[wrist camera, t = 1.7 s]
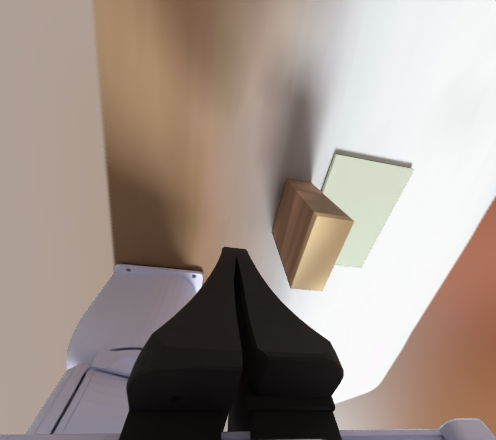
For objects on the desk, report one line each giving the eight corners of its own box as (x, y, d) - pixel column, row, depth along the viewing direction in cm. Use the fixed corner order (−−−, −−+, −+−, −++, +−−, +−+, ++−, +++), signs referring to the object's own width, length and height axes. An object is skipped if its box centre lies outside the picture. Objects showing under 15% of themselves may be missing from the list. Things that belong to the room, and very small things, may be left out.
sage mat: (297, 258, 24) (298, 261, 24) (334, 153, 19) (336, 154, 19) (359, 265, 25) (361, 267, 25) (411, 168, 20) (414, 169, 20)
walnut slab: (272, 232, 22) (290, 288, 15) (286, 178, 20) (317, 216, 13) (294, 235, 23) (322, 291, 16) (311, 183, 20) (354, 221, 13)
